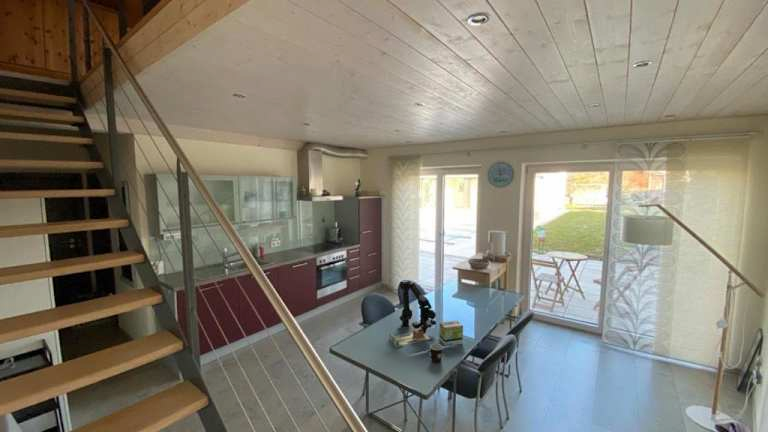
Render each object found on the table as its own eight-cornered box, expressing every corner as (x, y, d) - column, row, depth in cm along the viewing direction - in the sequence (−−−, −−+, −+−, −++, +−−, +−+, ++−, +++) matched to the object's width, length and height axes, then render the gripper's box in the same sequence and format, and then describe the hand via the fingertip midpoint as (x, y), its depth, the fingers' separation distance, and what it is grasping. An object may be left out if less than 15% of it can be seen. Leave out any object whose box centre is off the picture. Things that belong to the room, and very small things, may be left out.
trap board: (389, 339, 253) (389, 333, 253) (421, 332, 264) (421, 326, 263) (397, 348, 239) (397, 341, 239) (430, 340, 250) (430, 334, 249)
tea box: (444, 347, 241) (445, 328, 239) (439, 340, 250) (439, 322, 249) (463, 344, 245) (463, 325, 243) (456, 337, 254) (456, 319, 253)
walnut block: (413, 335, 255) (413, 329, 255) (419, 334, 258) (419, 328, 257) (416, 338, 250) (416, 332, 249) (423, 337, 252) (423, 331, 252)
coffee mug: (441, 357, 227) (441, 343, 226) (443, 364, 218) (444, 349, 217) (424, 357, 226) (424, 343, 225) (426, 364, 218) (426, 350, 217)
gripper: (418, 321, 243) (418, 340, 245) (439, 316, 250) (439, 335, 252) (411, 315, 253) (411, 334, 255) (432, 311, 261) (432, 330, 262)
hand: (424, 333), depth 256 cm, fingers closed
